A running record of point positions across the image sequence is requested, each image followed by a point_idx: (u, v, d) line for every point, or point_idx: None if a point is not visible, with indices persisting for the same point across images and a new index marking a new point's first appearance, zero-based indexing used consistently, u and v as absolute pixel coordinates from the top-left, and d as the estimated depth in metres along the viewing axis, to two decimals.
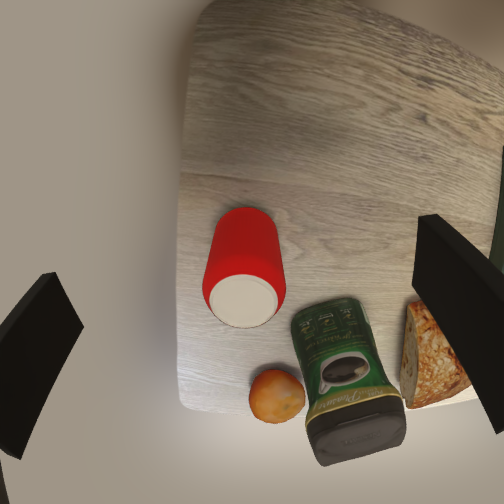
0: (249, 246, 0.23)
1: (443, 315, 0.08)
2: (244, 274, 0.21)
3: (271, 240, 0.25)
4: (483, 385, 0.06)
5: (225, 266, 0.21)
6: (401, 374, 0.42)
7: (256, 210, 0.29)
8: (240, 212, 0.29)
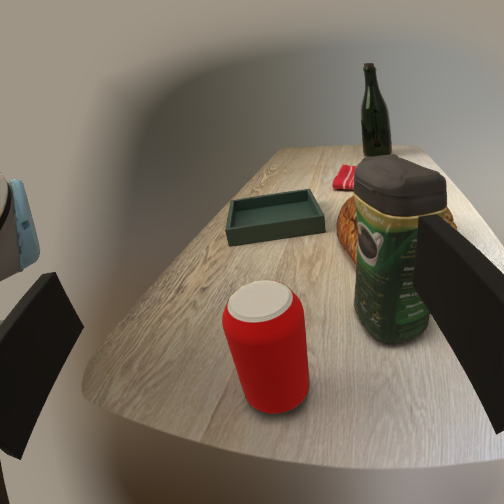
0: None
1: (443, 315, 0.08)
2: (229, 300, 0.23)
3: None
4: (482, 385, 0.06)
5: (224, 318, 0.22)
6: None
7: None
8: None
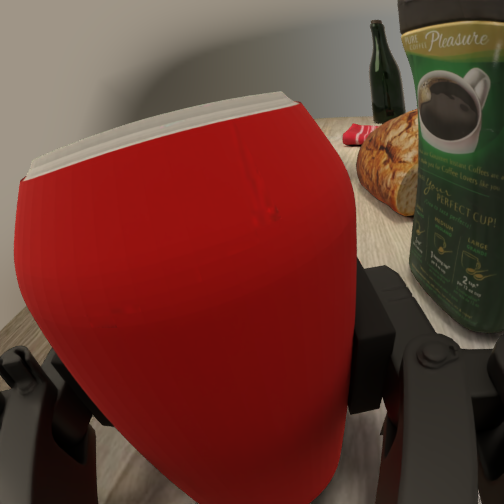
0: None
1: None
2: None
3: None
4: None
5: None
6: None
7: None
8: None
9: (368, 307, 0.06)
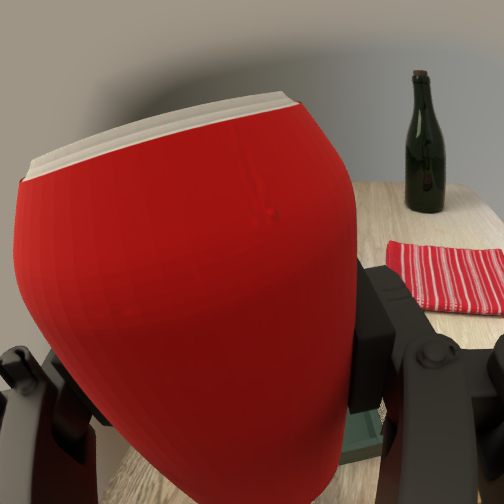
0: None
1: None
2: None
3: None
4: None
5: None
6: None
7: None
8: None
9: (368, 307, 0.06)
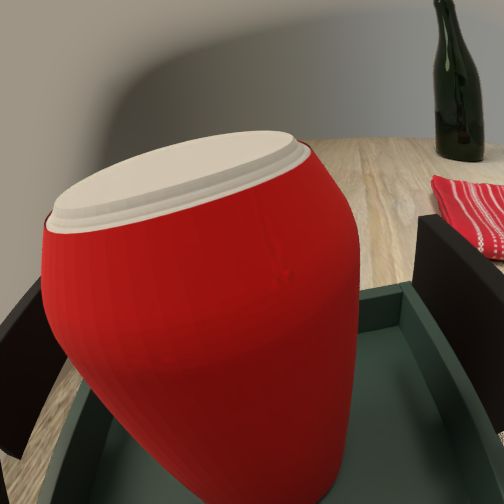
0: None
1: (443, 315, 0.08)
2: None
3: None
4: (482, 385, 0.06)
5: None
6: None
7: None
8: None
9: None
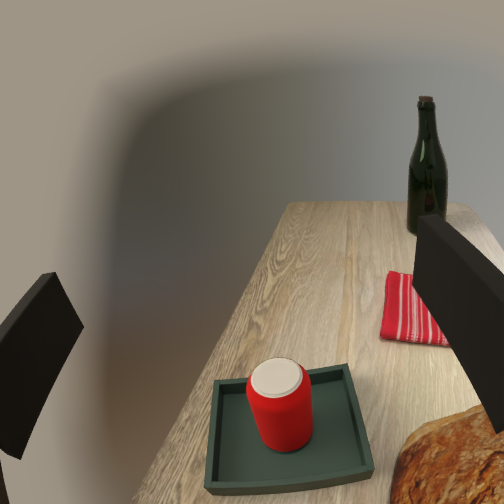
0: None
1: (443, 315, 0.08)
2: (251, 375, 0.28)
3: None
4: (482, 385, 0.06)
5: (248, 390, 0.27)
6: None
7: None
8: None
9: None
